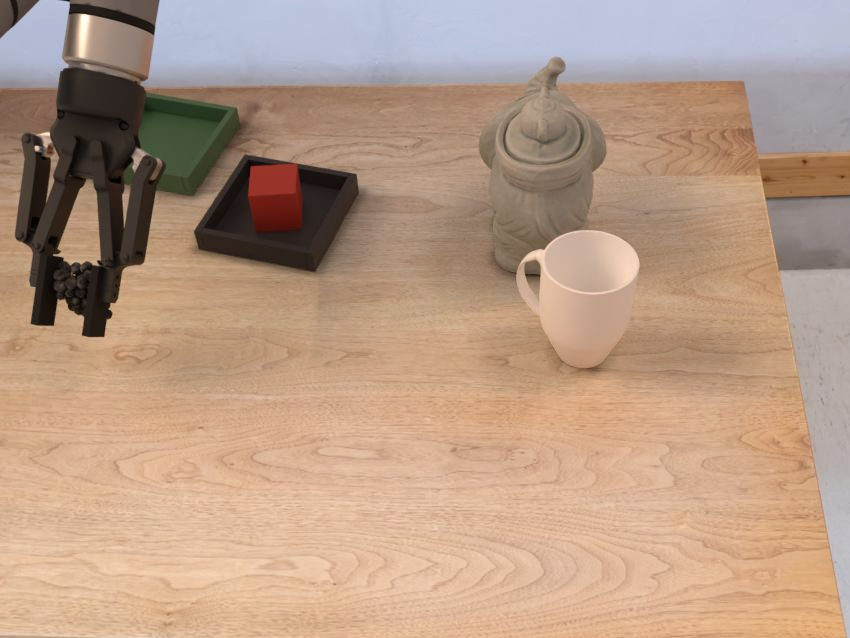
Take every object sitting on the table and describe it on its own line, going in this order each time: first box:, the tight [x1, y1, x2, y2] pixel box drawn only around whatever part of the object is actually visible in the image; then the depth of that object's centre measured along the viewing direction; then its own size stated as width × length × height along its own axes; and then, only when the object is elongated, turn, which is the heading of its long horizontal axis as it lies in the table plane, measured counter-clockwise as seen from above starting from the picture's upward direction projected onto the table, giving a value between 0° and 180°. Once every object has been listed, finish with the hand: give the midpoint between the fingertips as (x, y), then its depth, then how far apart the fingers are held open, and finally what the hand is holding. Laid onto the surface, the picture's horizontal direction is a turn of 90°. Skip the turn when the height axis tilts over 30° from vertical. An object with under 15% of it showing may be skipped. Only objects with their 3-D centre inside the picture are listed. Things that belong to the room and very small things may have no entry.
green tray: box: [124, 91, 242, 197], centre depth 131 cm, size 14×14×3 cm
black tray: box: [193, 154, 360, 273], centre depth 123 cm, size 14×14×3 cm
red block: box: [248, 164, 303, 232], centre depth 121 cm, size 5×5×5 cm
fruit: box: [53, 260, 114, 325], centre depth 106 cm, size 5×4×8 cm
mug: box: [515, 229, 640, 369], centre depth 106 cm, size 12×9×12 cm
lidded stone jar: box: [478, 56, 608, 276], centre depth 114 cm, size 16×15×19 cm
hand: (67, 330), depth 104 cm, fingers closed on fruit, 5 cm apart
